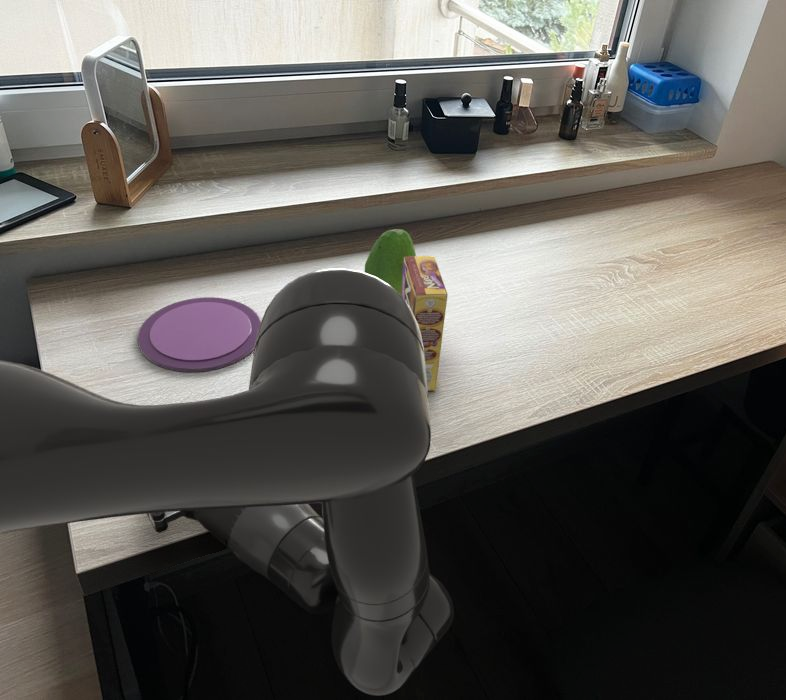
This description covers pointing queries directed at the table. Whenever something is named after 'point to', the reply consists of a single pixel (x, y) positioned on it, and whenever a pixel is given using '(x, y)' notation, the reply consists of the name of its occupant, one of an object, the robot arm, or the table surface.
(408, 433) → the robot arm
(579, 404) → the table surface
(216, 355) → the plum dish
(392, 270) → the avocado
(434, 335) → the candy box
